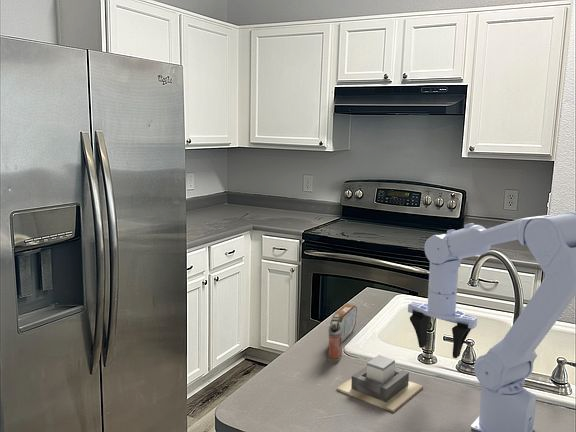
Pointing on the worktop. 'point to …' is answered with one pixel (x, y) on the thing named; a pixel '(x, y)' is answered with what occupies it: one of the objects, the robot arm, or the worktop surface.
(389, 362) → the plug
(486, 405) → the robot arm
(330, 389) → the worktop surface
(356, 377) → the socket
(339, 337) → the lighter
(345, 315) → the tin
